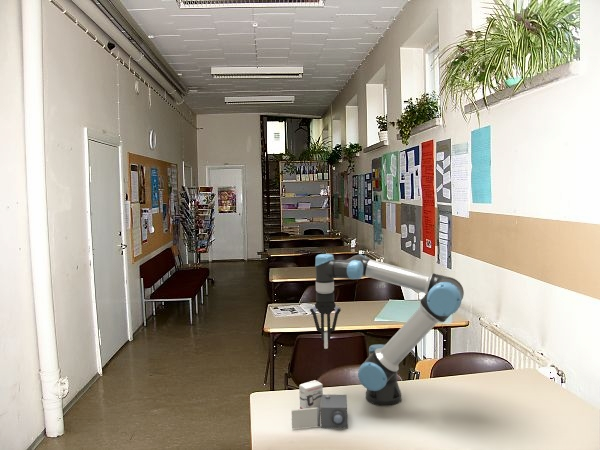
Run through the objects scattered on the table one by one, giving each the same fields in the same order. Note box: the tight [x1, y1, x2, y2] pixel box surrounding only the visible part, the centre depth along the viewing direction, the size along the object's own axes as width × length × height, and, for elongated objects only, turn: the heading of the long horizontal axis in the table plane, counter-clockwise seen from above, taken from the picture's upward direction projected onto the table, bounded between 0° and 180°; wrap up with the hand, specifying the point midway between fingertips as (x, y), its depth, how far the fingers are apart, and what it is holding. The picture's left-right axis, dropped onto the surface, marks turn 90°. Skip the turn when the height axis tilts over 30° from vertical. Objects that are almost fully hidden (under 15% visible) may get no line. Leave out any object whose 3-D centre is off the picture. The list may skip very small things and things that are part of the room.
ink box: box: [298, 379, 324, 409], centre depth 206 cm, size 8×5×12 cm, turn 123°
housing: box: [320, 394, 349, 429], centre depth 196 cm, size 10×14×9 cm
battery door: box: [291, 407, 321, 430], centre depth 192 cm, size 1×11×7 cm, turn 99°
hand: (326, 347), depth 211 cm, fingers closed
